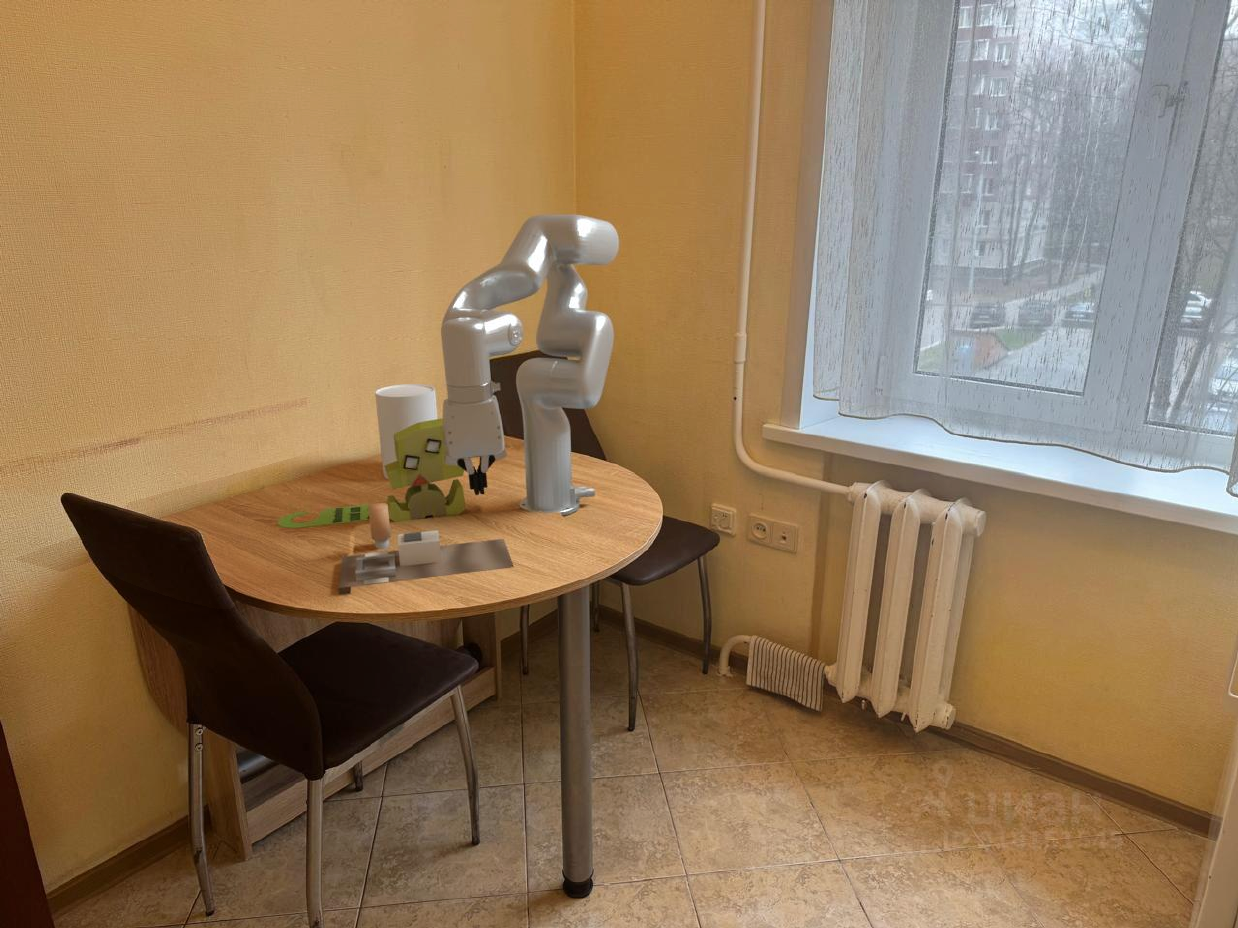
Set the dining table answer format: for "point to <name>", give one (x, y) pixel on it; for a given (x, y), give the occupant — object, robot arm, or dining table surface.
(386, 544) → the tan rounded cylinder
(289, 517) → the door hanger
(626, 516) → the dining table surface
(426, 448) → the toy
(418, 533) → the block
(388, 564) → the panel
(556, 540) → the dining table surface
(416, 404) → the canister
